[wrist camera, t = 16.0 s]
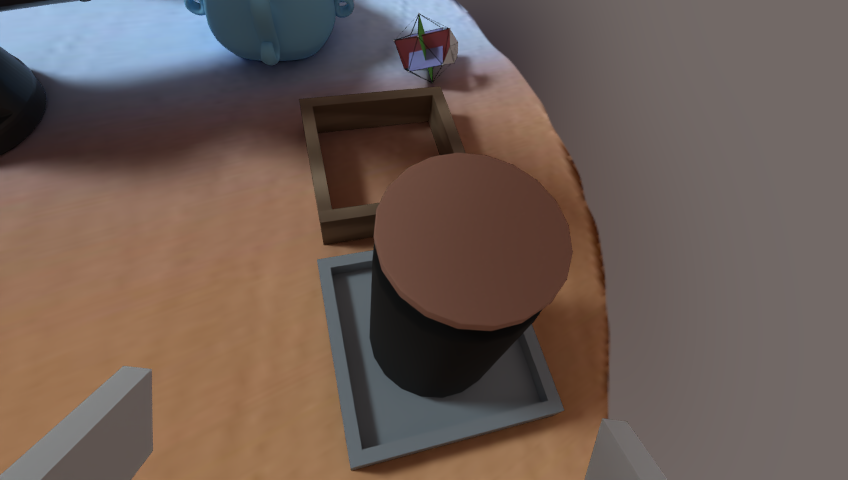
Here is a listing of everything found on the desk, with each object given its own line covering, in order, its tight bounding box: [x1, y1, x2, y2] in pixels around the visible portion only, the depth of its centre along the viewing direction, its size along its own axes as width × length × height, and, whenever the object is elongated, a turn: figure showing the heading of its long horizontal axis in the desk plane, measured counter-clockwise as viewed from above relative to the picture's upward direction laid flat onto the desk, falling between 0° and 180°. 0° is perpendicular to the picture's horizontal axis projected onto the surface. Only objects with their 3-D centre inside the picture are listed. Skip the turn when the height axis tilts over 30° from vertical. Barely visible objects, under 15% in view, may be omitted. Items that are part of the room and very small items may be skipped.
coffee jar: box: [369, 153, 573, 398], centre depth 32 cm, size 11×11×18 cm
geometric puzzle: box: [393, 13, 458, 83], centre depth 55 cm, size 7×7×8 cm
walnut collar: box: [299, 86, 465, 245], centre depth 47 cm, size 15×15×4 cm
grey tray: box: [317, 250, 564, 471], centre depth 39 cm, size 17×17×2 cm
